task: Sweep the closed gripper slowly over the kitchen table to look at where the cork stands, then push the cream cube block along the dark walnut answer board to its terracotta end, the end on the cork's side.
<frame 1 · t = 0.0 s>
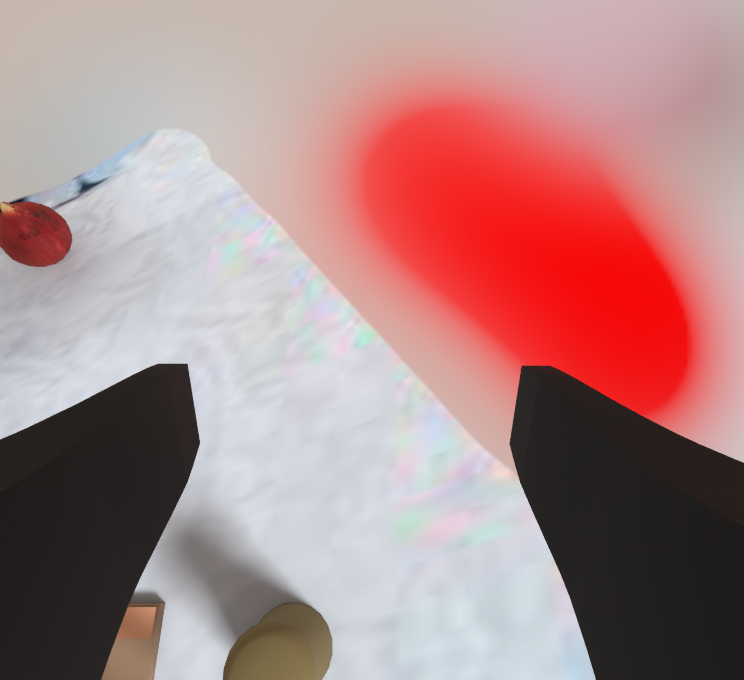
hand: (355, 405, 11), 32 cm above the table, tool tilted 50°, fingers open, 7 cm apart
onion: (58, 258, 50), on the table
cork: (291, 648, 37), on the table
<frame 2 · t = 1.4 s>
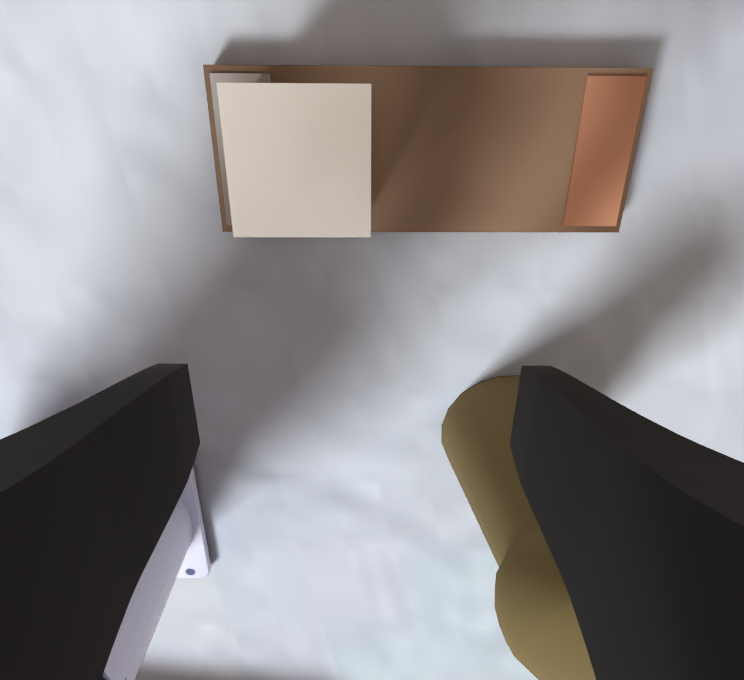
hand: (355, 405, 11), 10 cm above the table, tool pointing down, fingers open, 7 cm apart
answer board: (422, 152, 19), on the table
cream cube block: (306, 159, 15), point 3 cm above the table, slide at 0.0 cm
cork: (502, 428, 24), on the table
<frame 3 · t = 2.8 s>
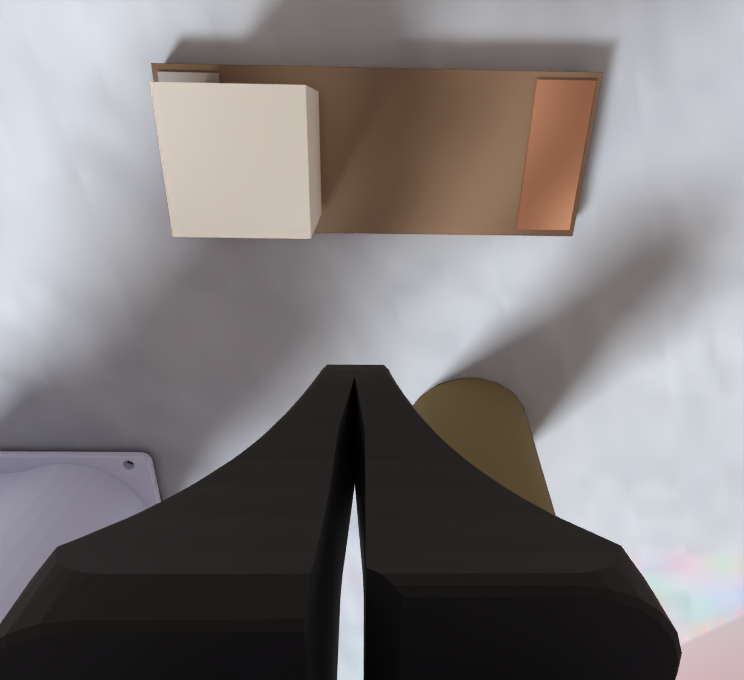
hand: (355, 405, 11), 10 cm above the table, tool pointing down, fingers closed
answer board: (376, 154, 18), on the table
cream cube block: (250, 159, 15), point 3 cm above the table, slide at 0.0 cm
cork: (464, 430, 24), on the table
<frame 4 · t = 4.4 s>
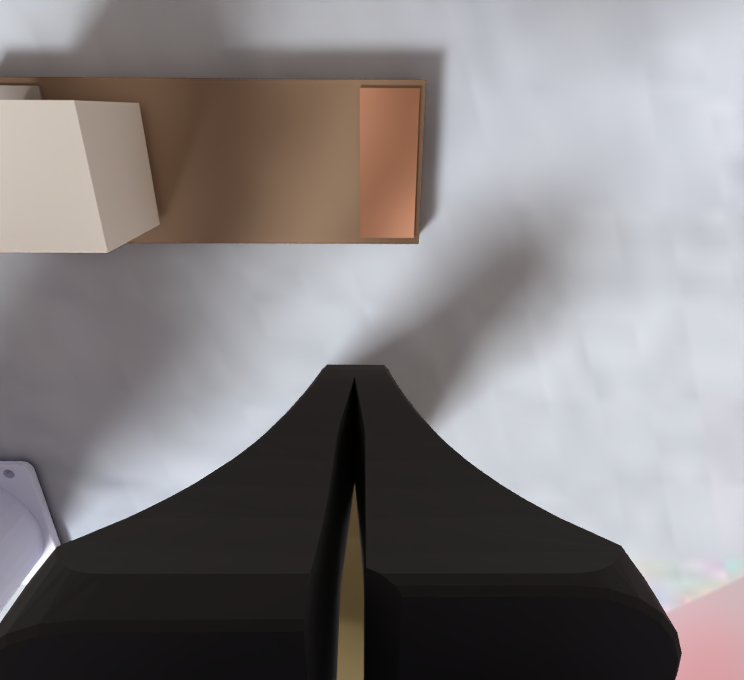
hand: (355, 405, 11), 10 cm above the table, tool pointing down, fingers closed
answer board: (217, 163, 18), on the table
cream cube block: (59, 172, 15), point 3 cm above the table, slide at 0.0 cm
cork: (344, 437, 24), on the table
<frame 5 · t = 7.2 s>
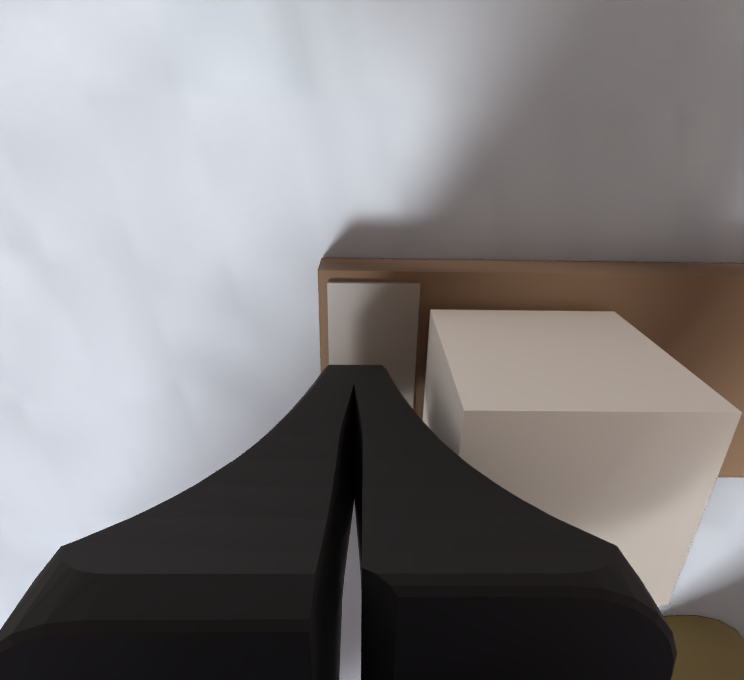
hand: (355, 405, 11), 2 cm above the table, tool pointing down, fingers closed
answer board: (615, 366, 13), on the table
cream cube block: (537, 442, 10), point 3 cm above the table, slide at 0.9 cm, touching gripper
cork: (659, 665, 18), on the table
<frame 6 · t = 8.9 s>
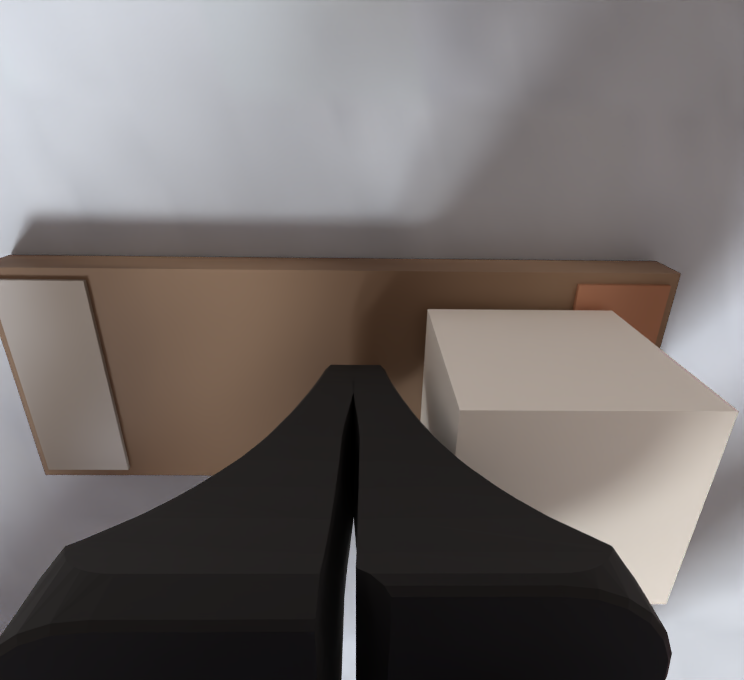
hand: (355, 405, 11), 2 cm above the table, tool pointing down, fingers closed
answer board: (337, 363, 13), on the table
cream cube block: (535, 442, 10), point 3 cm above the table, slide at 8.0 cm, touching gripper
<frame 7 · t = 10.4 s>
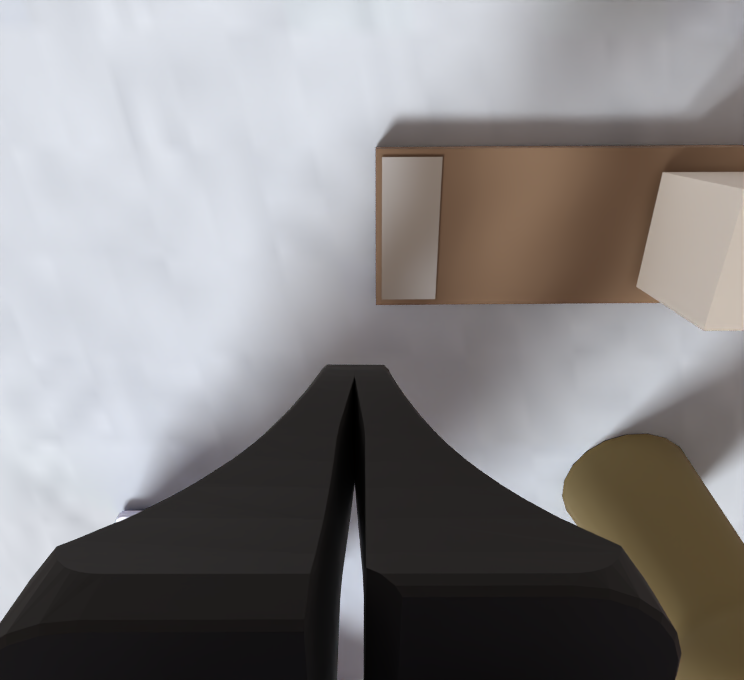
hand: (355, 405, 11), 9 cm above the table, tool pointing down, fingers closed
answer board: (576, 224, 18), on the table
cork: (623, 482, 24), on the table
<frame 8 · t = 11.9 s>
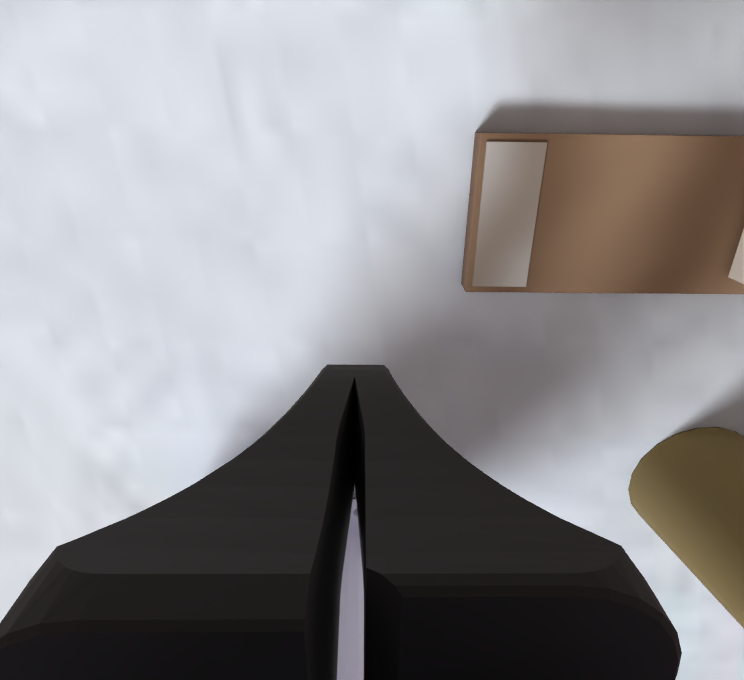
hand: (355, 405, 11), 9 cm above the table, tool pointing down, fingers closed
answer board: (667, 214, 19), on the table
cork: (689, 476, 24), on the table
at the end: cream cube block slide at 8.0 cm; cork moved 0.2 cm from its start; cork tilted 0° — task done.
